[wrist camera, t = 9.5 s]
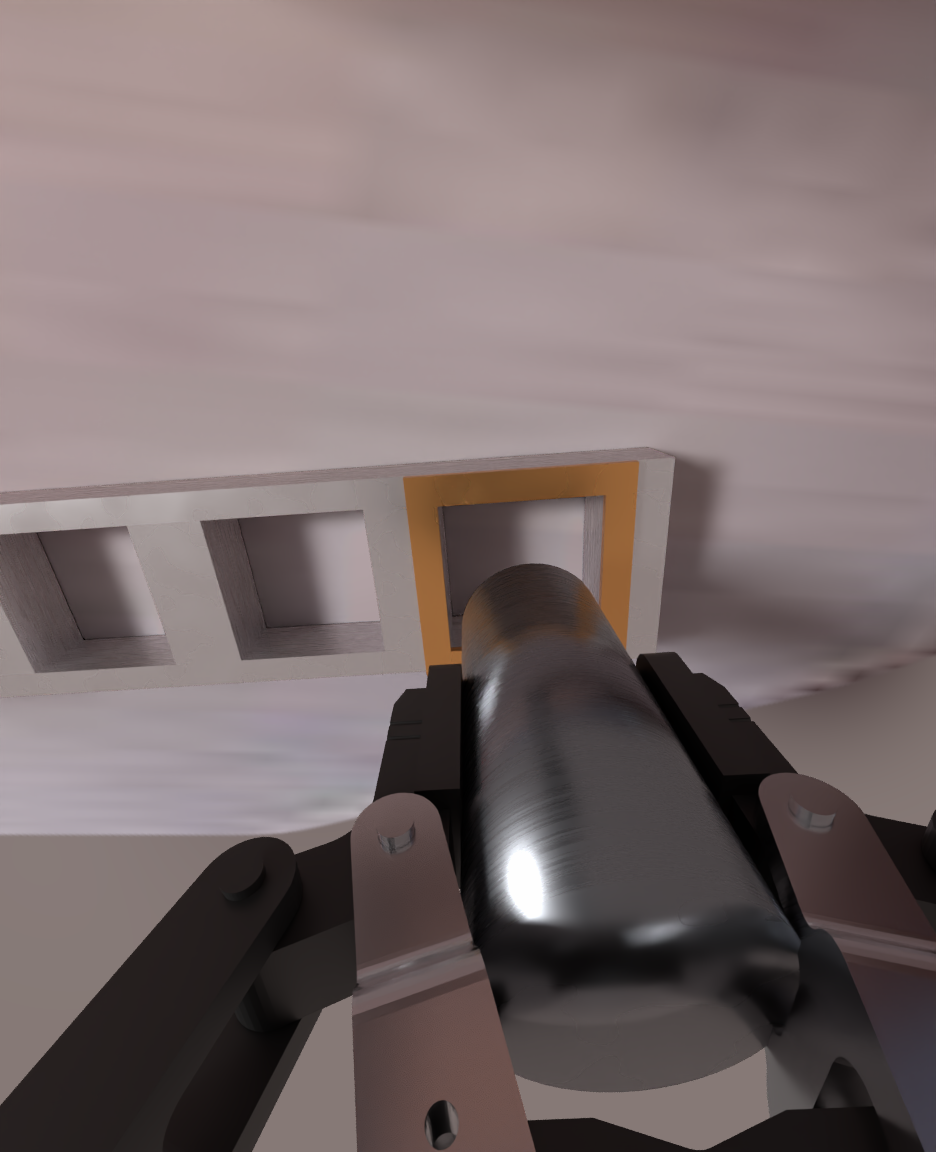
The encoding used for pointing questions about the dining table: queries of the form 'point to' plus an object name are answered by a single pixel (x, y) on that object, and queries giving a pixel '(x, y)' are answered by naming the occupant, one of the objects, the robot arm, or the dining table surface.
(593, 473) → the white compartment tray
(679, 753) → the steel pin
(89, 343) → the dining table surface
